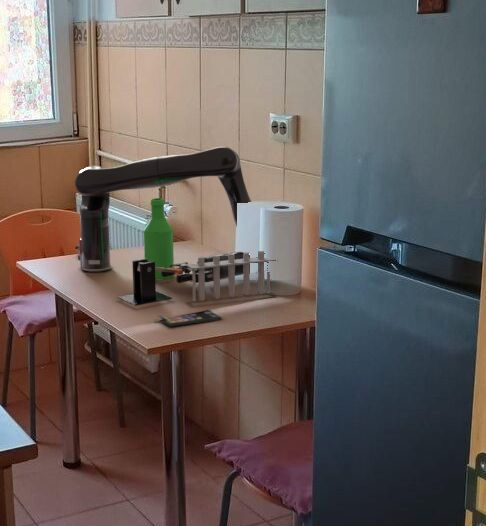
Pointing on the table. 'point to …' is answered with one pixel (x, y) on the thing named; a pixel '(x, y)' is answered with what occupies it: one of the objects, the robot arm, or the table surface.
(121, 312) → the table surface
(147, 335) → the table surface
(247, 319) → the table surface
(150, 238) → the bottle
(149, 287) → the bracket
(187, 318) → the smartphone
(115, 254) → the table surface
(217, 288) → the test tube rack
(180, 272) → the lever
